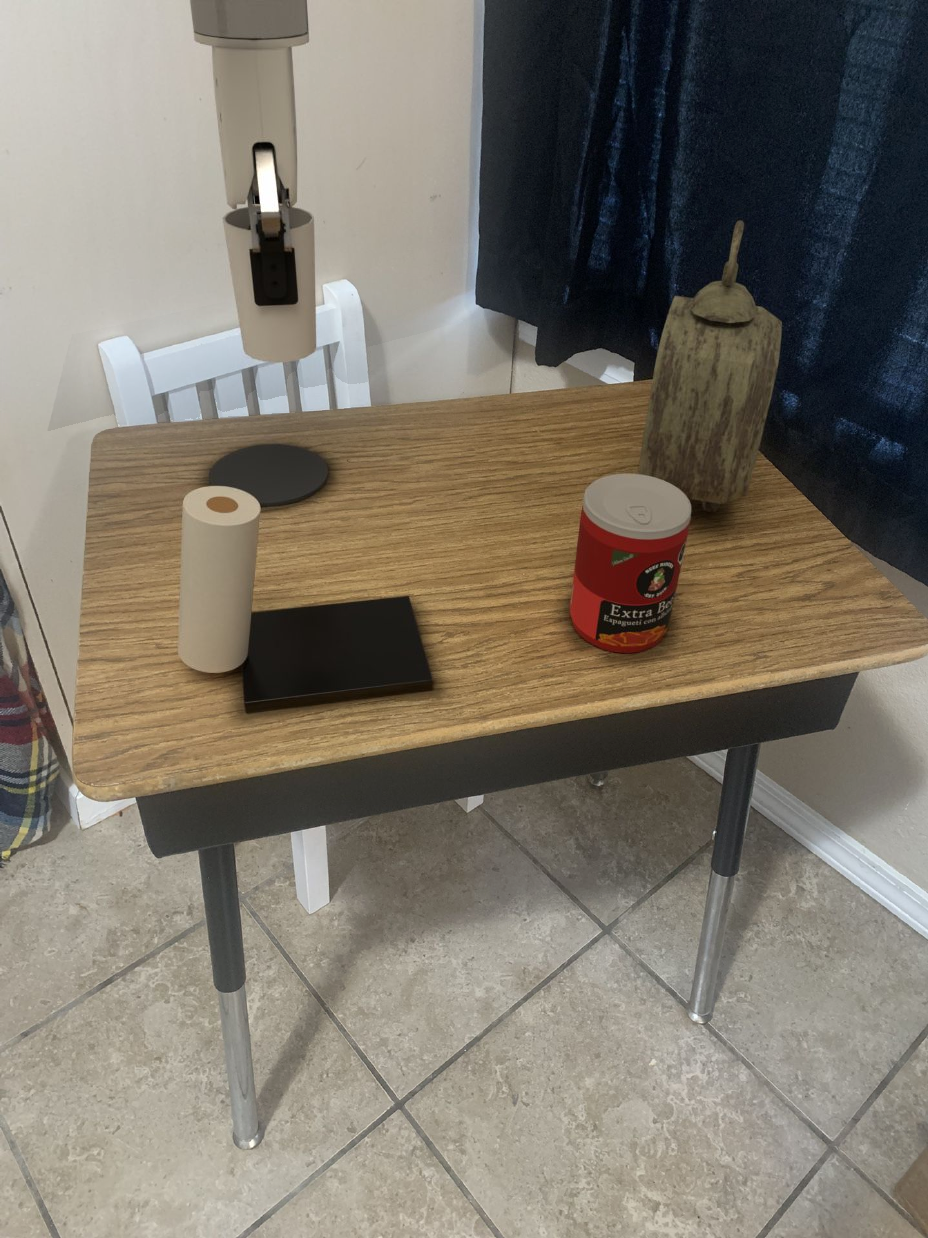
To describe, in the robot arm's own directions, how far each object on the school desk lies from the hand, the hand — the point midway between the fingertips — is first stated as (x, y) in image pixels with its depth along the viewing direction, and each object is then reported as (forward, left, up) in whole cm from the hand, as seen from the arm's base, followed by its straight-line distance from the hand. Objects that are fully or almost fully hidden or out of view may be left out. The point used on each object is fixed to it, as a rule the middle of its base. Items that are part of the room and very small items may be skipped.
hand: (274, 286), depth 75 cm
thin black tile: (+1, -21, -20) cm, 29 cm away
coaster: (-2, +6, -20) cm, 21 cm away
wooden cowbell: (+35, -6, -20) cm, 41 cm away
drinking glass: (0, 0, -5) cm, 5 cm away
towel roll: (-4, -21, -13) cm, 25 cm away
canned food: (+23, -21, -20) cm, 37 cm away
